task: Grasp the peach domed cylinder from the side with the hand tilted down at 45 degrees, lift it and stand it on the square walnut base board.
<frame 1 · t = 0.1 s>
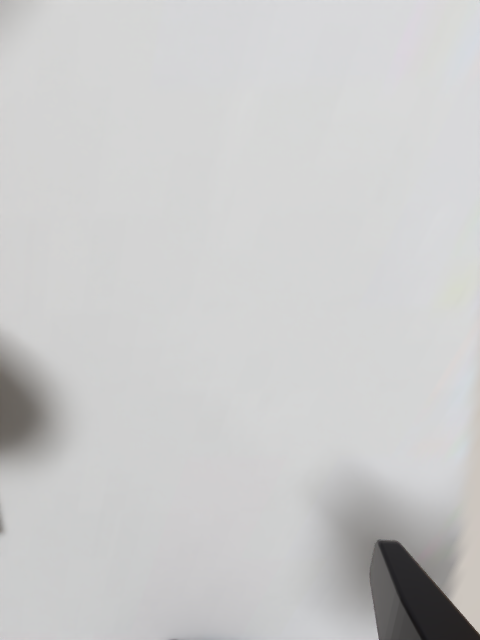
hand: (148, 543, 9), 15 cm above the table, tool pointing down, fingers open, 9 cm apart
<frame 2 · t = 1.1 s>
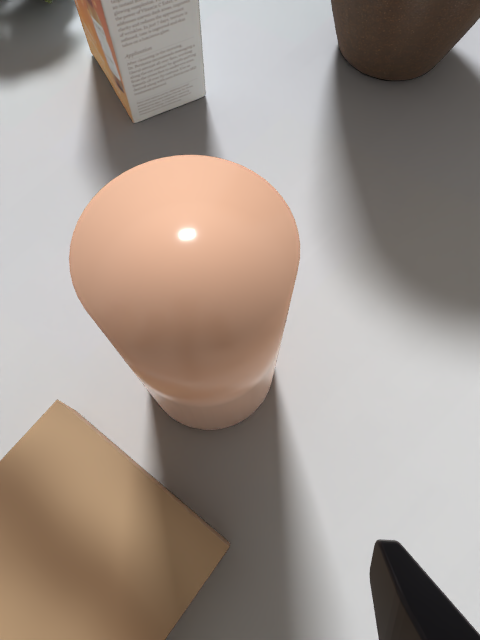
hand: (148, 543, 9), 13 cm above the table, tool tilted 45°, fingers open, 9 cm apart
small box: (148, 77, 33), on the table
peach domed cylinder: (210, 366, 24), on the table
plant pot: (388, 46, 34), on the table
base board: (74, 566, 21), on the table
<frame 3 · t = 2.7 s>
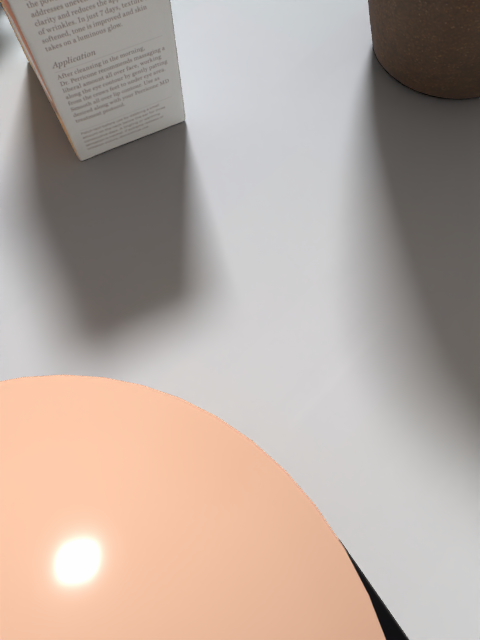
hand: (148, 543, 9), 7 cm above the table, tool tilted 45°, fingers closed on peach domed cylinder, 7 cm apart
small box: (105, 93, 23), on the table
peach domed cylinder: (181, 578, 15), on the table, touching gripper
plant pot: (442, 50, 24), on the table
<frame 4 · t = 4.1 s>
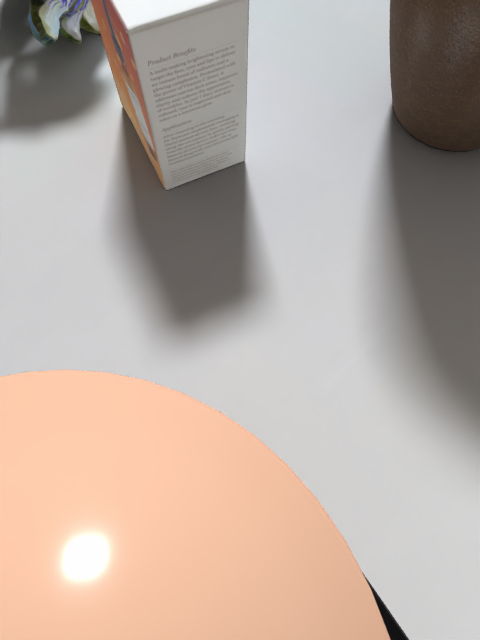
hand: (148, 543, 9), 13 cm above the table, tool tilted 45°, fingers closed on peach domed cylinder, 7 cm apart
small box: (182, 135, 30), on the table
peach domed cylinder: (182, 576, 15), point 7 cm above the table, touching gripper
plant pot: (447, 109, 31), on the table
passion flower: (43, 23, 34), on the table
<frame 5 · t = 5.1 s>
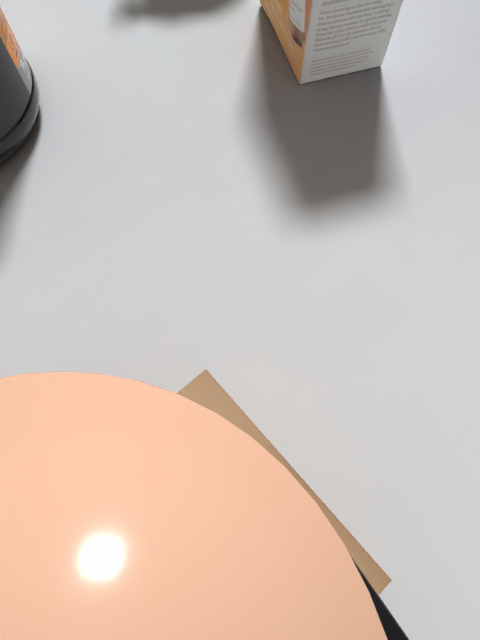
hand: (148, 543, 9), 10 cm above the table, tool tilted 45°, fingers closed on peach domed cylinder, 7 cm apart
small box: (318, 38, 30), on the table
peach domed cylinder: (181, 577, 15), point 4 cm above the table, touching gripper
base board: (194, 557, 18), on the table
when the fingers open (10 cm above the table, at t = 5.6 s): peach domed cylinder drops 1 cm, resting on base board.
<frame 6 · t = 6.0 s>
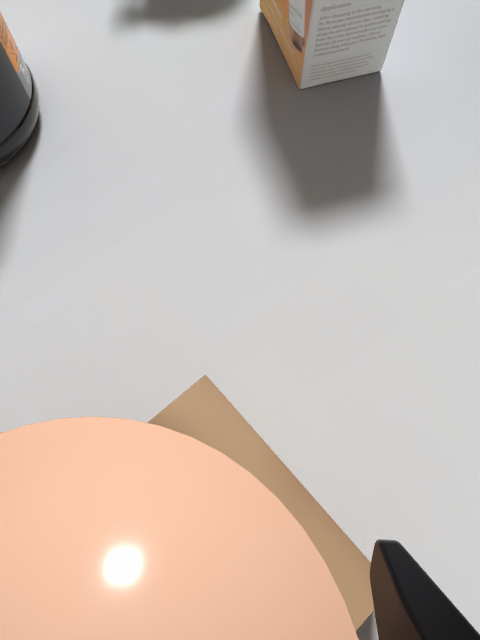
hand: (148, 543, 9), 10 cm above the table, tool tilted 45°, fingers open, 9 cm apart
small box: (317, 43, 30), on the table
peach domed cylinder: (185, 578, 16), point 3 cm above the table, touching base board
base board: (193, 565, 18), on the table
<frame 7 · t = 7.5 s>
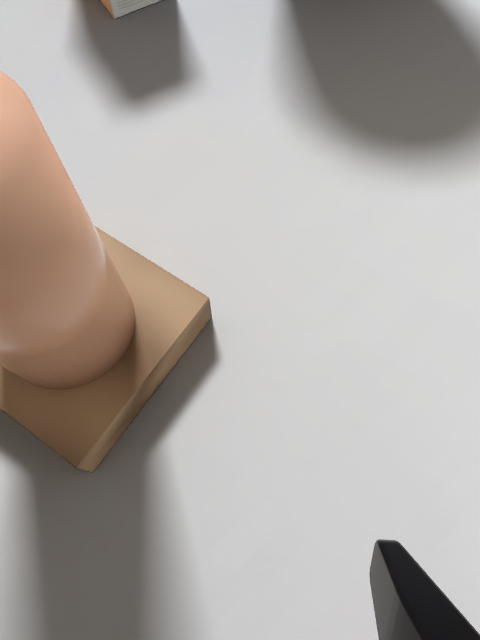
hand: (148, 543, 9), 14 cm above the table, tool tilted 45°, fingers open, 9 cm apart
peach domed cylinder: (68, 324, 23), point 2 cm above the table, touching base board
base board: (84, 339, 25), on the table
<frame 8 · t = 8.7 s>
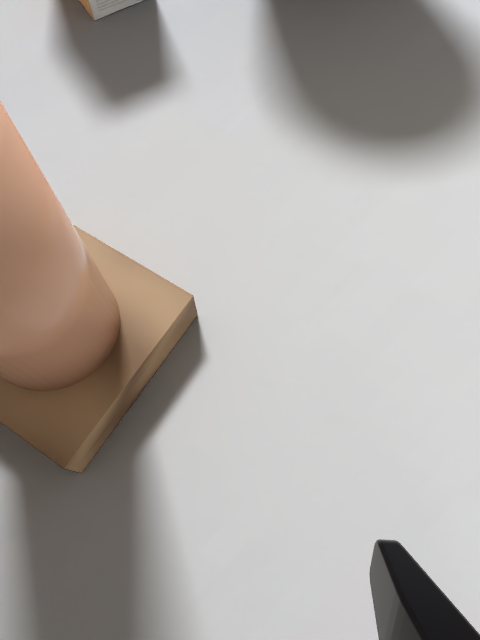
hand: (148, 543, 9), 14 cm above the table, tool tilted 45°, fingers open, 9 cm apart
peach domed cylinder: (53, 326, 23), point 2 cm above the table, touching base board
base board: (70, 340, 25), on the table
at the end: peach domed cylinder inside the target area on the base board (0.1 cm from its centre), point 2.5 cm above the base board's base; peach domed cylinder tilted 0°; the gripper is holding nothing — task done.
